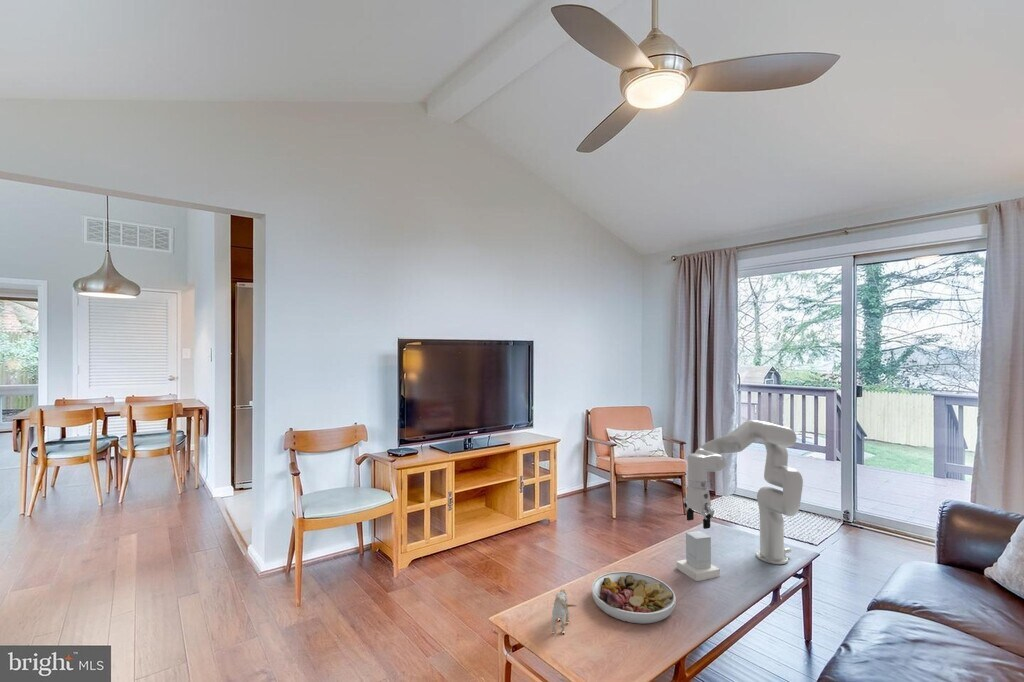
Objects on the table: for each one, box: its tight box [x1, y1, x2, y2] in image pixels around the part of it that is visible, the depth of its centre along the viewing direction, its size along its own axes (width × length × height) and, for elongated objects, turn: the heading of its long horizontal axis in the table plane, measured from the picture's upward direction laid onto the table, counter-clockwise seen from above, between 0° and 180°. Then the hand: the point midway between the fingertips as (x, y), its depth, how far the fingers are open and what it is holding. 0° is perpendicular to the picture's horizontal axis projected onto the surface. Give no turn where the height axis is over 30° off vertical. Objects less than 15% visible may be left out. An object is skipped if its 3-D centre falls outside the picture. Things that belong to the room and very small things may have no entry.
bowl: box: [591, 570, 676, 624], centre depth 172 cm, size 30×30×8 cm
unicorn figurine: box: [551, 588, 578, 633], centre depth 155 cm, size 7×20×13 cm, turn 2°
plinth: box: [675, 558, 721, 582], centre depth 196 cm, size 12×12×3 cm
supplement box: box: [685, 530, 712, 569], centre depth 196 cm, size 7×7×13 cm
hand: (698, 524), depth 196 cm, fingers open, 9 cm apart
